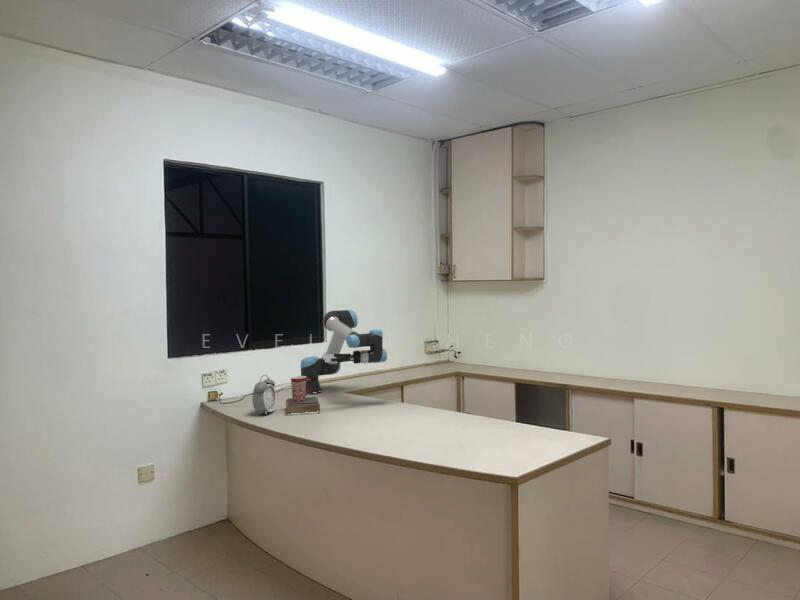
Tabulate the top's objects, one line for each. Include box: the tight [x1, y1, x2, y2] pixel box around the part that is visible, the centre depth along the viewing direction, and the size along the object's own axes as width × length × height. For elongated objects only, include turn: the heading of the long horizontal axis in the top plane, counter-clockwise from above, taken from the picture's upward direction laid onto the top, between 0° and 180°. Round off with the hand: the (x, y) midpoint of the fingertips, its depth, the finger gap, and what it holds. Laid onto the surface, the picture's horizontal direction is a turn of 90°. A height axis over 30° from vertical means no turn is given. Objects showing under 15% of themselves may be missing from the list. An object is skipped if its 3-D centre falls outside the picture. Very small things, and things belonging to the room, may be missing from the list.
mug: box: [290, 375, 312, 402], centre depth 318 cm, size 13×9×14 cm
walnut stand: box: [285, 396, 321, 415], centre depth 318 cm, size 18×18×6 cm
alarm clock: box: [251, 374, 277, 415], centre depth 312 cm, size 16×9×22 cm, turn 168°
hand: (323, 358), depth 320 cm, fingers open, 13 cm apart
